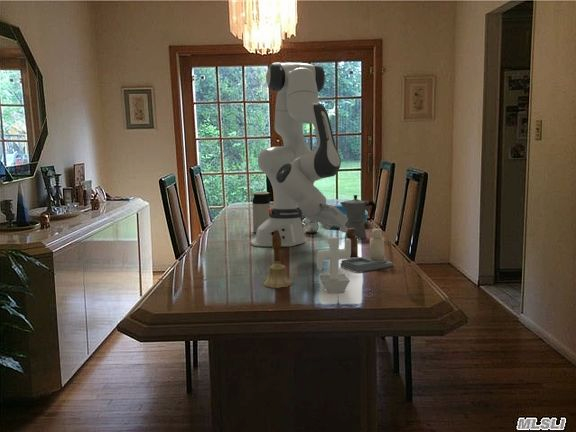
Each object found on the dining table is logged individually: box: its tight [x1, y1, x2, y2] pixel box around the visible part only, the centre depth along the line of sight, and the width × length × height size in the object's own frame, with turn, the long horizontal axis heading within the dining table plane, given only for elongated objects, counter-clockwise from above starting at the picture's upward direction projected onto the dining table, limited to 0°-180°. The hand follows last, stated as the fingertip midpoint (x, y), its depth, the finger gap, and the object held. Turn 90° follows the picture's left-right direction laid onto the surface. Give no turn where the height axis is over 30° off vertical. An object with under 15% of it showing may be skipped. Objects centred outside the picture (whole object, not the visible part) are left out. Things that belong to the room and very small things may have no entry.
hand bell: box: [263, 230, 293, 289], centre depth 149 cm, size 8×8×16 cm
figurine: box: [316, 236, 351, 294], centre depth 141 cm, size 7×9×15 cm
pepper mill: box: [344, 228, 359, 259], centre depth 183 cm, size 5×5×10 cm
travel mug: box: [251, 191, 271, 233], centre depth 237 cm, size 8×8×18 cm
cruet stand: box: [340, 228, 394, 273], centre depth 167 cm, size 15×9×12 cm, turn 119°
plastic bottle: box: [303, 215, 319, 234], centre depth 231 cm, size 6×7×20 cm
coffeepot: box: [339, 194, 377, 240], centre depth 217 cm, size 15×9×18 cm, turn 68°
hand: (337, 228), depth 179 cm, fingers open, 8 cm apart
